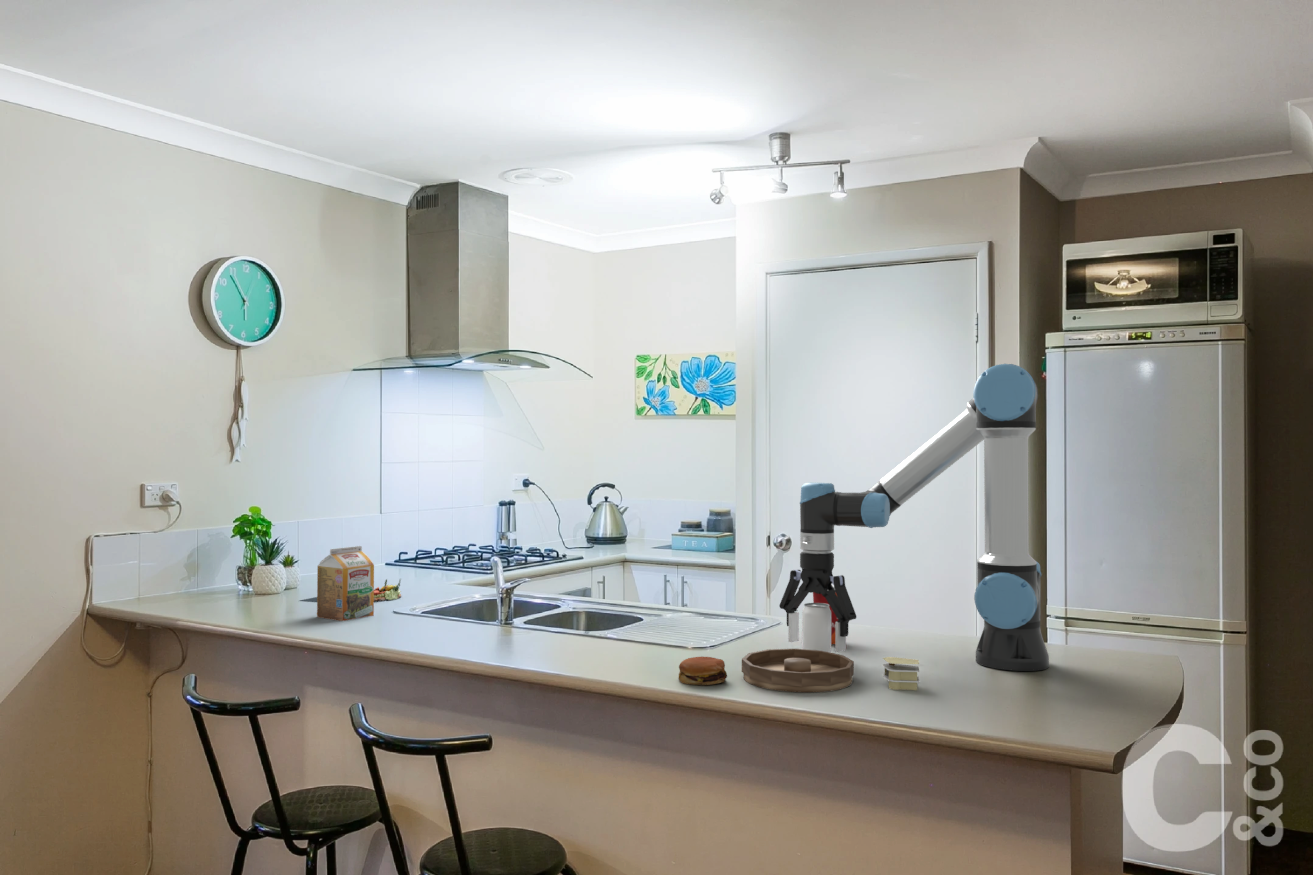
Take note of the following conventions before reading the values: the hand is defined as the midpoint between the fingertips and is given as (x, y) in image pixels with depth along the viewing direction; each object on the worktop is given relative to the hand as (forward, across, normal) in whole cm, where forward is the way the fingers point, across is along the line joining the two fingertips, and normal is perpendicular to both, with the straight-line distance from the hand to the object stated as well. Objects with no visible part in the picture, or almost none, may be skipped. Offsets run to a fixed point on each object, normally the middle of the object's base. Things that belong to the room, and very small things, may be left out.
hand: (816, 646), depth 216 cm
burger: (+3, -1, -34) cm, 34 cm away
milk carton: (+3, -117, -60) cm, 132 cm away
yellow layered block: (+3, +27, -7) cm, 28 cm away
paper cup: (+3, -10, +16) cm, 19 cm away
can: (+3, 0, 0) cm, 3 cm away
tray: (+3, +10, -18) cm, 21 cm away
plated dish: (+4, -144, -44) cm, 150 cm away
